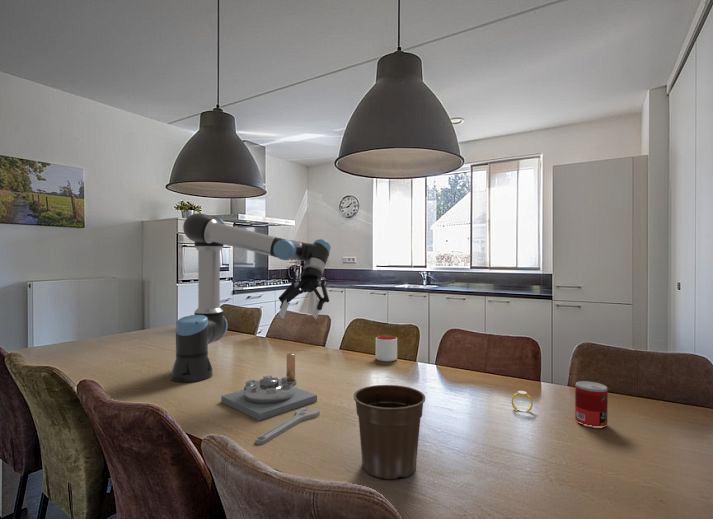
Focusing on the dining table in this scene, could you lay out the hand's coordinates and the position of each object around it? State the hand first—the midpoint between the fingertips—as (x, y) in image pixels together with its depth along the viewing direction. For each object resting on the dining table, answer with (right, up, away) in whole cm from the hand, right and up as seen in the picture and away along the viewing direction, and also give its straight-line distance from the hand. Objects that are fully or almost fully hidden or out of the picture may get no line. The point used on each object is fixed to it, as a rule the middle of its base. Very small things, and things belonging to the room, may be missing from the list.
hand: (297, 316), depth 148 cm
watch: (+72, -26, -22) cm, 80 cm away
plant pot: (+29, -26, -55) cm, 67 cm away
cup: (+35, -26, +41) cm, 60 cm away
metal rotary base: (-7, -24, -14) cm, 29 cm away
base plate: (-7, -26, -14) cm, 30 cm away
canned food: (+88, -26, -31) cm, 97 cm away
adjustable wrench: (+2, -26, -33) cm, 42 cm away
